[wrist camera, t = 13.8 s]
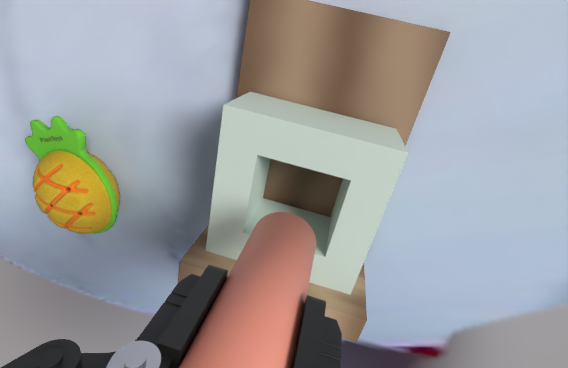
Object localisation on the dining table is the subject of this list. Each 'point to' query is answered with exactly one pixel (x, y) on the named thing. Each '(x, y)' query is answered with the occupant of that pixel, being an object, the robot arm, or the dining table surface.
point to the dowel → (259, 300)
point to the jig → (329, 103)
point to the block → (312, 155)
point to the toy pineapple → (72, 179)
